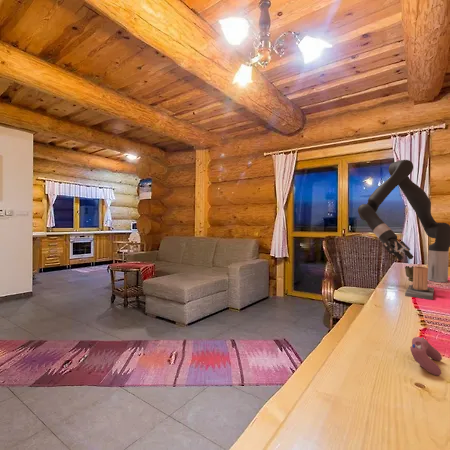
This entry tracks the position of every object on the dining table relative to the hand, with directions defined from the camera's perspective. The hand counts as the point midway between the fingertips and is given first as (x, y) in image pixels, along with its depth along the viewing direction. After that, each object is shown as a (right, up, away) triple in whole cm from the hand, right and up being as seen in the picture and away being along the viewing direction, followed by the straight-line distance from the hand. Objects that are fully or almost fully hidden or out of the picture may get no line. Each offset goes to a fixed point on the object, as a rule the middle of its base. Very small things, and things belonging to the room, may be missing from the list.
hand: (406, 258), depth 139 cm
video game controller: (-42, -17, -72) cm, 84 cm away
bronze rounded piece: (+17, -15, +23) cm, 32 cm away
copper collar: (+3, -14, -5) cm, 15 cm away
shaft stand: (+3, -16, -5) cm, 17 cm away
